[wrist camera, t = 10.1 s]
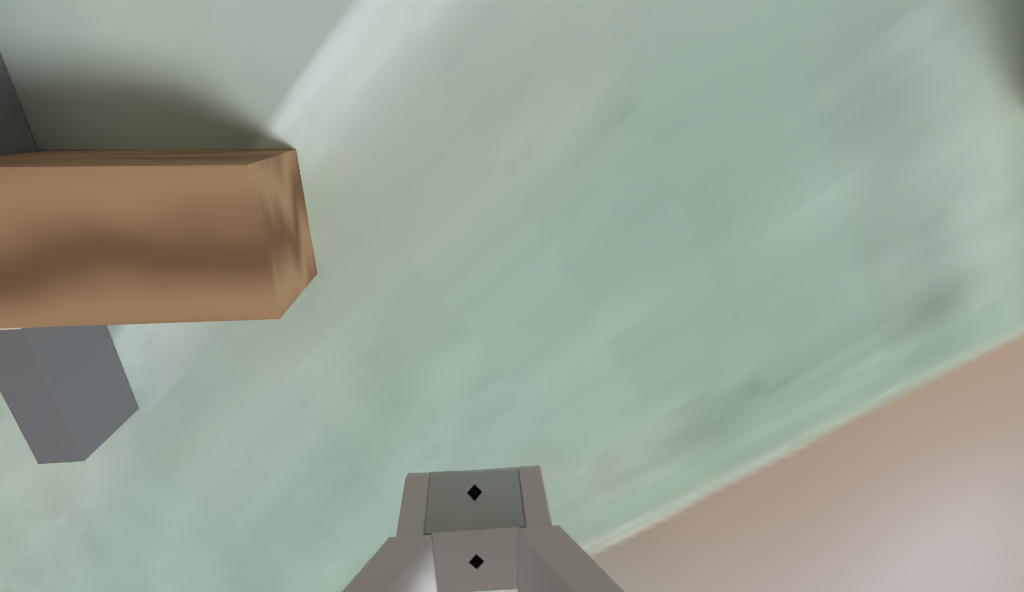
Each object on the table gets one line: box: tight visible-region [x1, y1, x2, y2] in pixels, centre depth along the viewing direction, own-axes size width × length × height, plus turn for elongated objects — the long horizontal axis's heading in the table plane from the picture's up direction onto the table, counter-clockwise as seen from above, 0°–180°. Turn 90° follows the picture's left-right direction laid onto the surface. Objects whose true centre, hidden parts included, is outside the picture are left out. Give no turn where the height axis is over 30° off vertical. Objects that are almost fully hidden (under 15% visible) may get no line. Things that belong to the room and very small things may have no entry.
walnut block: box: [0, 149, 317, 329], centre depth 29 cm, size 9×16×8 cm, turn 90°
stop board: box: [0, 55, 139, 464], centre depth 30 cm, size 30×3×6 cm, turn 0°
